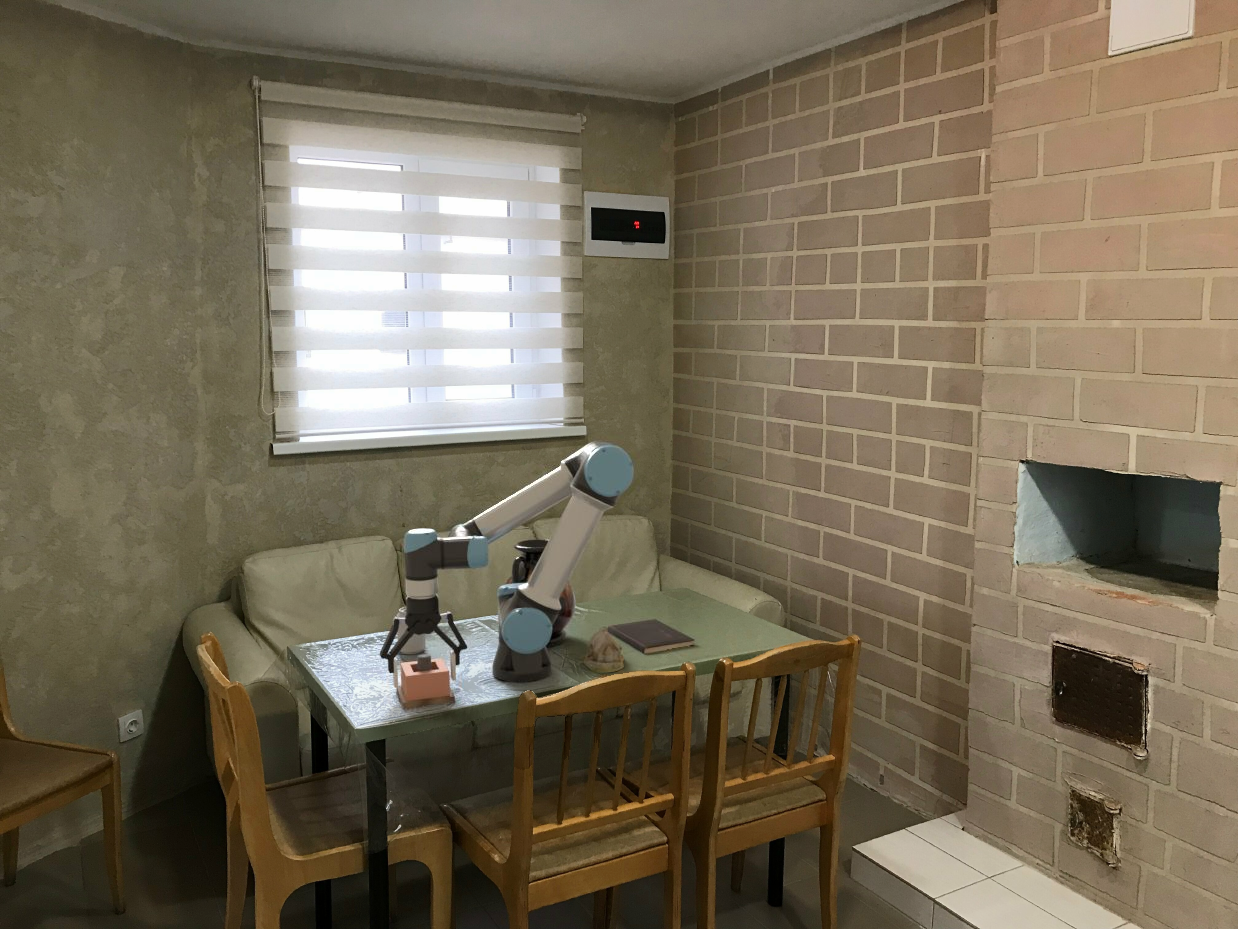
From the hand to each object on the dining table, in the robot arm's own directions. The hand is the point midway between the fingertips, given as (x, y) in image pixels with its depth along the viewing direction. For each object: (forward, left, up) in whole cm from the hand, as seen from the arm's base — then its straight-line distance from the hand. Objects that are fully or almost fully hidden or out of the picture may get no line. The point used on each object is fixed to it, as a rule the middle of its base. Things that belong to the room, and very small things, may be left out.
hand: (424, 682), depth 231 cm
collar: (0, 0, -2) cm, 2 cm away
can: (-2, -37, -4) cm, 37 cm away
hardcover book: (-67, -24, -4) cm, 71 cm away
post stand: (0, 0, -4) cm, 4 cm away
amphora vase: (-37, -34, -4) cm, 50 cm away
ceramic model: (-48, -8, -4) cm, 49 cm away
